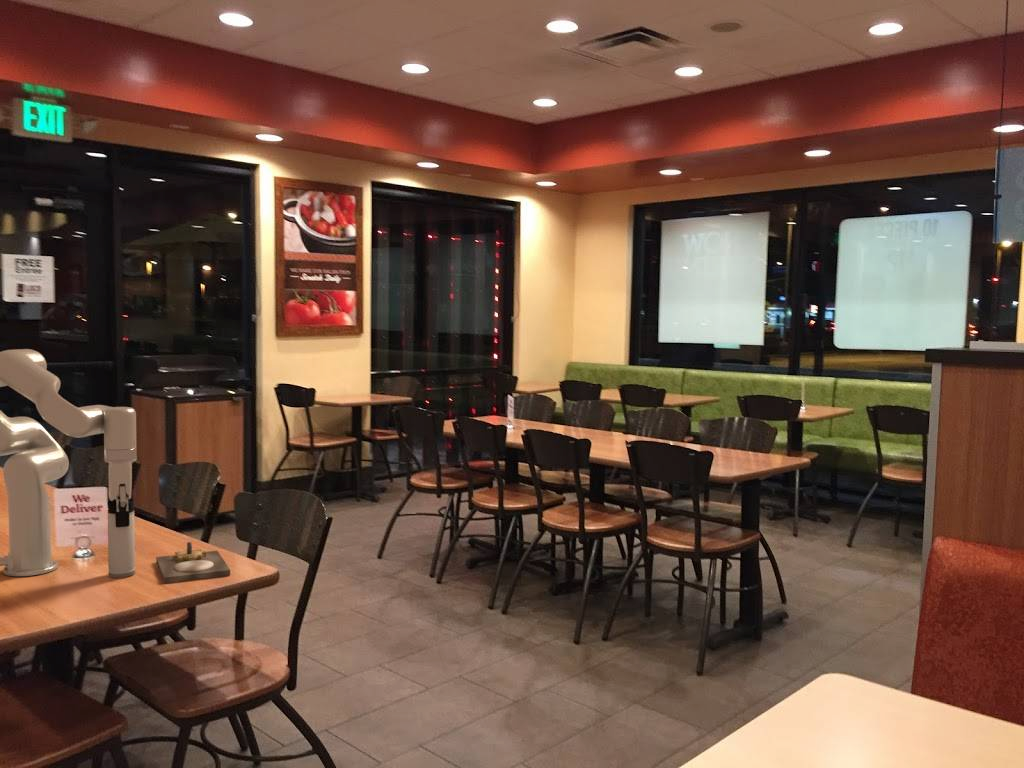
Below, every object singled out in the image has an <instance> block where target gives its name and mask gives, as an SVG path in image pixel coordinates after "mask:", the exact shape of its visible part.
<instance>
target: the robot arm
mask: <svg viewBox="0 0 1024 768" xmlns="http://www.w3.org/2000/svg"><path fill="white" fill-rule="evenodd" d="M47 368H48V367H47V361H46V358H45V357H44V355H43V354H41V353H40V352H39V351H36V350H34V349H30V348H22V349H20V348H18V349H7V350H2V351H0V388H2V387H7V386H8V387H9V388H11V389H12V390H13V391H15V392H16V393H18V394H20V395H22V396H23V397H25V398H27V399H28V400H30V401H31V402H32V403H34V404H35V407H36V410H37V411H38V413H39V415H40V416H41V417H42V419H43V421H45V422H46V423H48V424H49V425H51V426H52V427H54V428H55V429H57V430H58V431H60V432H61V433H63V434H65V435H66V436H68V437H72V438H79V439H80V438H85V437H89V436H94V435H100V434H103V442H104V443H103V445H104V449H103V451H104V454H103V455H104V462H105V463H108V498H109V501H110V500H111V501H113V500H116V510H117V512H115V521H116V527H128V526H129V511H128V500H129V499H131V498H132V486H133V484H132V483H133V481H132V480H133V477H132V476H133V473H132V472H133V471H132V470H133V466H132V463H133V462H136V461H137V460H138V459H137V458H138V457H137V456H138V455H137V454H138V453H137V451H138V450H137V413H136V410H135V408H133V407H130V406H129V407H128V406H114V407H113V406H109V405H104V404H95V405H94V404H93V405H86V406H85V405H84V406H80V407H77V406H75V405H74V404H72V403H70V401H68V400H66V399H65V398H63V397H62V396H61V395H60V394H59V390H60V389H61V384H62V383H61V380H60V378H59V377H58V376H57V375H55V373H52V372H51V371H49V370H47ZM8 455H11V456H9V458H8V459H7V460H6V461H5V463H4V465H3V470H2V471H3V472H2V473H3V474H2V475H3V480H4V484H5V488H6V495H7V507H8V509H7V510H8V511H7V514H8V540H9V541H8V543H9V546H8V548H9V552H8V554H7V555H4V556H3V557H0V567H1V566H4V567H2V572H3V574H4V575H6V576H9V577H10V576H11V577H31V576H38V575H42V574H43V575H44V574H47V573H50V572H53V571H55V570H56V569H58V567H59V562H58V561H57V560H55V559H52V533H51V532H52V529H51V527H52V526H51V523H52V522H51V501H50V496H49V492H48V491H47V489H46V486H45V485H46V483H49V482H53V481H56V480H59V479H61V478H62V477H64V476H65V475H66V473H67V472H68V470H69V466H70V461H69V457H68V455H67V454H66V452H65V451H64V449H63V448H62V447H61V445H60V444H59V443H58V442H57V441H56V440H55V438H54V437H53V436H52V435H51V434H50V433H49V432H48V431H47V430H46V428H45V427H44V426H43V425H42V424H41V423H40V422H38V421H37V420H35V419H34V418H31V417H29V416H14V417H9V416H7V415H6V414H5V413H4V412H3V411H2V410H1V409H0V457H2V456H8ZM118 498H120V499H118ZM119 502H120V503H119Z"/></svg>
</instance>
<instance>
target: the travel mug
mask: <svg viewBox="0 0 1024 768" xmlns="http://www.w3.org/2000/svg"><path fill="white" fill-rule="evenodd" d="M118 499H120V498H118ZM119 503H120V502H119ZM134 507H135V499H134V498H132V497H131V499H129V500H128V511H129V526H128V527H116V521H115V512H117V510H116V500H113V501H111V500H110V499H109V501H107V555H108V557H107V558H108V559H107V560H108V561H107V562H108V563H107V564H108V565H107V566H108V577H110V578H113V579H122V578H123V579H125V578H129V577H132V576H134V575H135V573H136V557H135V556H136V553H135V552H136V551H135V549H136V548H135V547H136V546H135V545H136V544H135V542H136V540H135V539H136V537H135V536H136V535H135V508H134Z"/></svg>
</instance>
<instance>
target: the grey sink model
mask: <svg viewBox="0 0 1024 768" xmlns="http://www.w3.org/2000/svg"><path fill="white" fill-rule="evenodd" d="M192 544H193V543H192V542H191V541H188V542H186V549H185V550H182V551H176V552H174V554H172V555H164V556H156V559H155V560H156V565H157V568H158V571H159V573H160V575H161V578H162V580H163V584H172V583H181V582H189V581H197V580H196V579H198V580H205V579H204V578H206V579H211V578H213V577H214V578H222V577H230V576H231V568H230V567H229V566H228V564H227V563H226V561H225V559H224V558H223V556H222V555H221V554H220V552H219V551H218V550H210V551H202V550H201V549H195V550H194V549H192V548H193V545H192ZM229 575H230V576H229Z"/></svg>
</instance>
